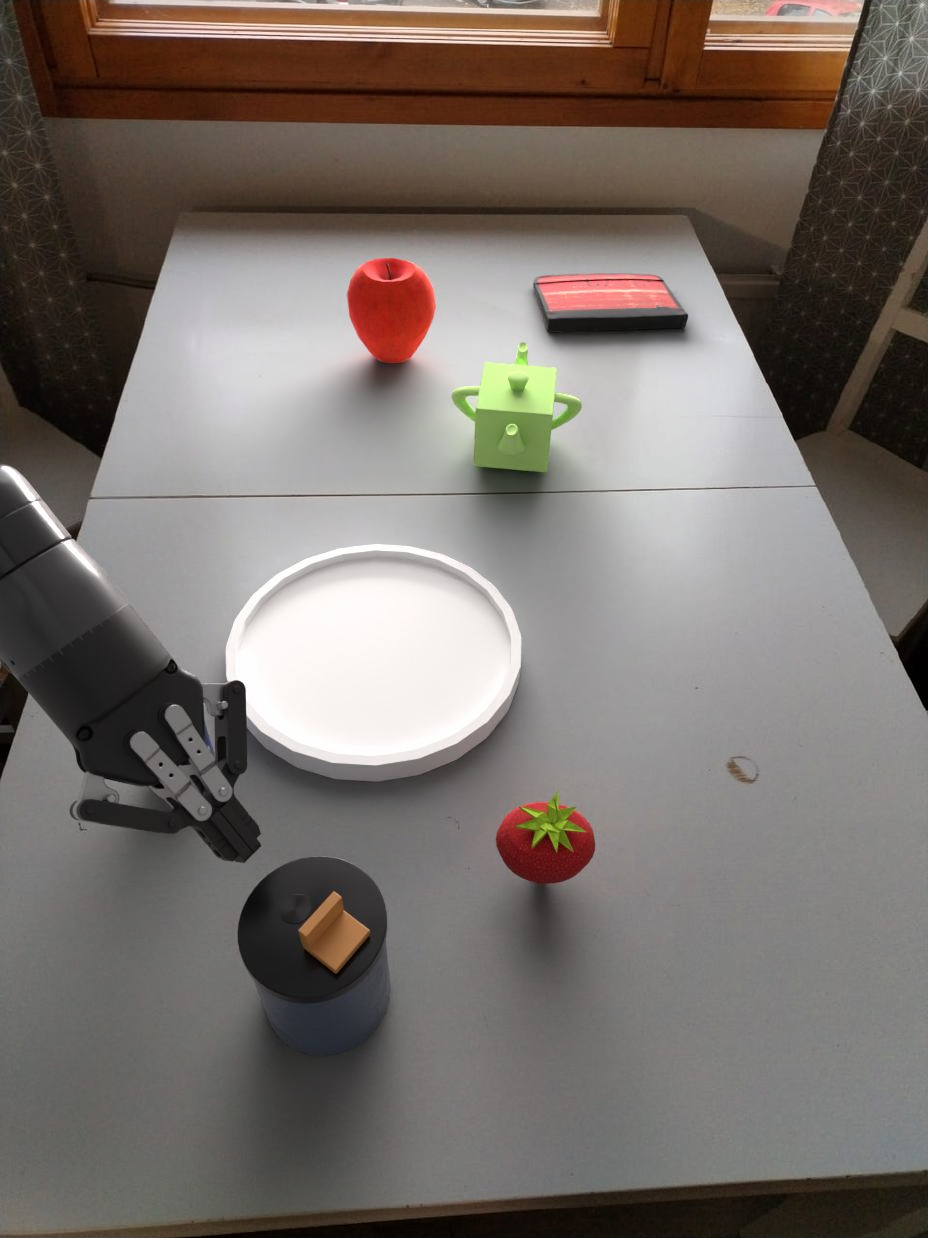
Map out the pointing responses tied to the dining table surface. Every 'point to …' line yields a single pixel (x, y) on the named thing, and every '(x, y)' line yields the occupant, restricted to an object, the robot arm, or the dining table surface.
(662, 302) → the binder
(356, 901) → the travel cup
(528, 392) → the teapot
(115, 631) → the robot arm
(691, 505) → the dining table surface
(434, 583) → the plate
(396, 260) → the apple
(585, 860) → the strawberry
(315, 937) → the orange l-shaped block
